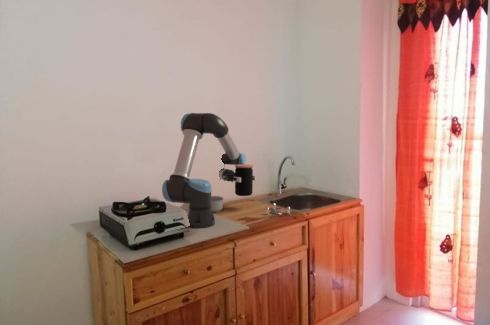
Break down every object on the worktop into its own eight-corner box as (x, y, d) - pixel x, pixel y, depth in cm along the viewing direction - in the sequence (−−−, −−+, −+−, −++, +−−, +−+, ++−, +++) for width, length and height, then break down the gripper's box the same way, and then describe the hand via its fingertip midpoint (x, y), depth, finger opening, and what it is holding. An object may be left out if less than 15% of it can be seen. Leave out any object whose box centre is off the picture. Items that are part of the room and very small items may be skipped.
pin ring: (274, 217, 213) (274, 210, 213) (258, 212, 224) (258, 205, 224) (290, 213, 221) (290, 207, 220) (274, 209, 232) (274, 202, 232)
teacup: (224, 209, 233) (224, 196, 232) (221, 213, 222) (221, 200, 221) (202, 208, 234) (202, 195, 233) (198, 212, 223) (198, 199, 222)
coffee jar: (238, 192, 238) (238, 164, 236) (254, 193, 235) (254, 164, 233) (232, 195, 228) (232, 165, 226) (249, 196, 225) (249, 166, 223)
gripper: (241, 179, 252) (262, 183, 235) (211, 182, 238) (232, 187, 221) (241, 167, 251) (262, 171, 234) (211, 170, 237) (232, 174, 220)
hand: (248, 179), depth 227 cm, fingers closed on coffee jar, 11 cm apart
